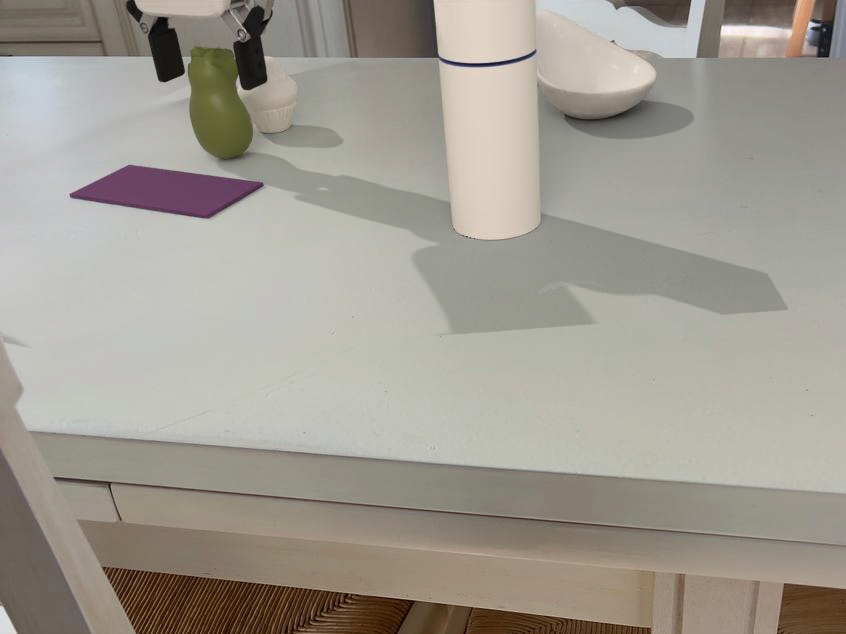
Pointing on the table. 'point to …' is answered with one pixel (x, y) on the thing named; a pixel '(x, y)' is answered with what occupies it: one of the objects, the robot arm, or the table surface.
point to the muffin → (271, 99)
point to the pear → (217, 103)
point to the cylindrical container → (490, 115)
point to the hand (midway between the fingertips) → (213, 82)
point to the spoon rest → (587, 70)
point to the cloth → (167, 190)
